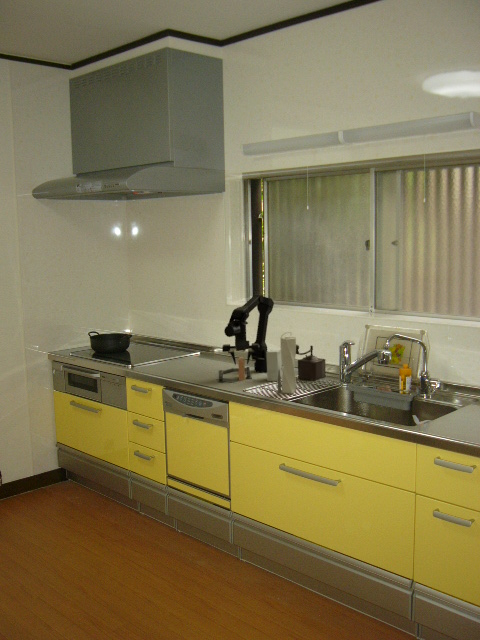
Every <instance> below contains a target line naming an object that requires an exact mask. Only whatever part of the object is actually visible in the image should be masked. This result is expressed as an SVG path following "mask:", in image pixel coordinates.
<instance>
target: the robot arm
mask: <svg viewBox="0 0 480 640" xmlns="http://www.w3.org/2000/svg"><path fill="white" fill-rule="evenodd" d="M274 305H275V302H274V300H273V299H272V298H269V297H267V296H264V295H262V294H253V295H252V297H250V299H248V300H247V301H246V302H245V303H244V304H243V305H242V306H239V307H236V308H234V309H233V310H232V313H231V315H230V318H229V321H228V323H227V325H226V326H225V328H224V331H223V332H224V335H225V336H226V337H228V338H230V337H231V338H232V337H234V345H231V344H230V343H227V344H222V350H221V351H222V352H226V353H227V354H229V355H231V357H232V360H233V363H234V365H235V366H236V363H237V362H236V355H235V353H236V352H235V350H236V351H237V352H240V351H243V352H245V351H246V350H247V359H246V364H247V365H249V363H250V358H251V360H252V361H254V363H253V364H254V366H253V368H254V370H253V371H255V373H267V355H266V352H268V351H269V350H268V345H267V342H266V340H267V339H266V337H267V330H268V323H269V315H270V314H271V313H272V312H273V310H274V309H273V308H274V307H275V306H274ZM256 307H257V308H256ZM255 308H256V309H257V313H259V314H258V322H257V330H256V338H255V341H254V342H253V343H251V345H250V340H247V325H248V324H249V322H248V321H247V320H248V319H249V317H250V313H251V312H252V311H253V310H254V309H255Z"/></svg>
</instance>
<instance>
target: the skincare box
mask: <svg viewBox="0 0 480 640" xmlns="http://www.w3.org/2000/svg"><path fill="white" fill-rule="evenodd" d="M267 351H268V352H266V355H267V372H266V373H267V376H266V377H267V381H268V382H269V381H270V382H278V370H280V376H281V379H282V374H283V364H282V359H281V349H270V350H267Z"/></svg>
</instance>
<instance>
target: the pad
mask: <svg viewBox="0 0 480 640" xmlns="http://www.w3.org/2000/svg"><path fill="white" fill-rule="evenodd" d="M215 380H216V381H218V380H219V378H217V379H215ZM223 380H224V382H225V383H229V384H230V383H236V382H238V381H239V379H238V380H237V379H233V378H232V379H231V378H227V377H223Z"/></svg>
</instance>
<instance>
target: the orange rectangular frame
mask: <svg viewBox="0 0 480 640" xmlns="http://www.w3.org/2000/svg"><path fill="white" fill-rule="evenodd" d="M237 364H238V368H239V372H238V381H245V380H246V372H245V368H246V367H245V357H238V362H237Z"/></svg>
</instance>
